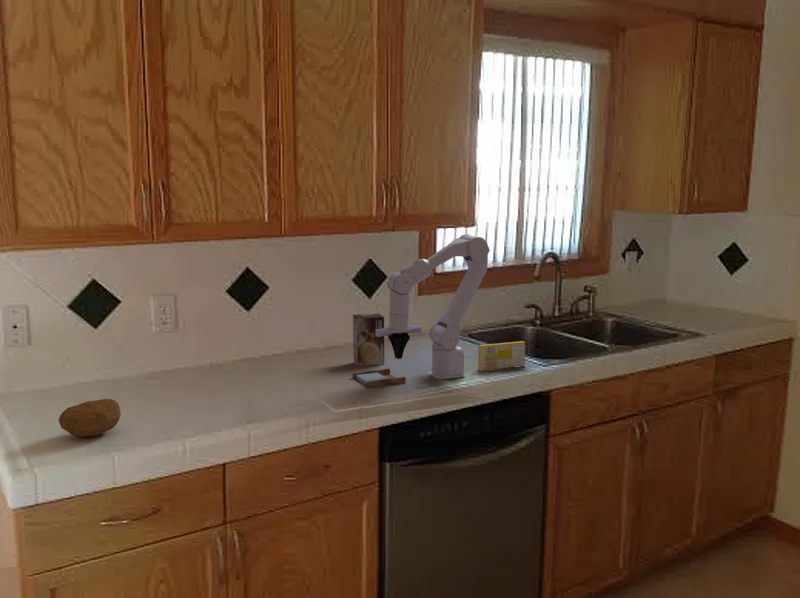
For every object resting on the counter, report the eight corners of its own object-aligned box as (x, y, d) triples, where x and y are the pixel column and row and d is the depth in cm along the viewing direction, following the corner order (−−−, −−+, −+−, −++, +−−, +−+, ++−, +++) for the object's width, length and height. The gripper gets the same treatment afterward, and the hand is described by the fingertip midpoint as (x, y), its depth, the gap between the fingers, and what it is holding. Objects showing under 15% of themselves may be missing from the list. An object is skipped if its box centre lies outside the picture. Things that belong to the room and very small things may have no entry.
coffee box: (379, 361, 255) (380, 313, 252) (384, 366, 249) (385, 316, 246) (352, 362, 253) (352, 314, 250) (356, 367, 247) (356, 318, 244)
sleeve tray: (388, 375, 238) (388, 368, 238) (405, 384, 229) (405, 377, 228) (352, 379, 233) (352, 372, 232) (368, 389, 223) (368, 382, 223)
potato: (53, 436, 182) (51, 403, 181) (112, 423, 192) (110, 392, 190) (68, 448, 175) (66, 414, 174) (129, 434, 185) (127, 401, 183)
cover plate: (377, 376, 235) (377, 372, 235) (389, 383, 228) (389, 379, 228) (356, 379, 232) (356, 375, 231) (367, 385, 225) (367, 381, 224)
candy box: (521, 365, 253) (522, 340, 251) (525, 367, 251) (526, 342, 249) (477, 369, 247) (478, 344, 245) (480, 371, 245) (481, 345, 243)
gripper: (414, 309, 237) (413, 352, 239) (371, 312, 230) (370, 357, 233) (425, 313, 231) (424, 358, 233) (381, 317, 224) (381, 362, 227)
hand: (398, 358), depth 232 cm, fingers closed
